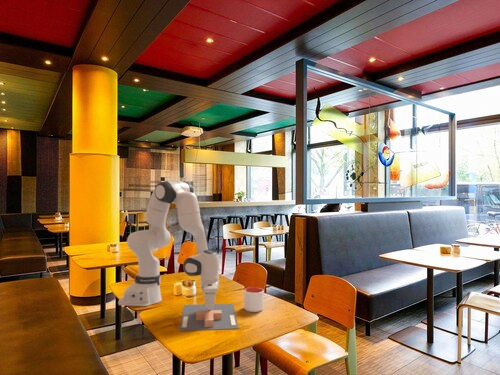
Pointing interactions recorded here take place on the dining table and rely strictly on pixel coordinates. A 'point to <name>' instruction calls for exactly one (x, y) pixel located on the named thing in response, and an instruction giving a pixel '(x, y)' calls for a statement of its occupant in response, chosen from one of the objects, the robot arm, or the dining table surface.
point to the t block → (209, 316)
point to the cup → (253, 299)
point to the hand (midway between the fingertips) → (209, 312)
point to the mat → (192, 324)
